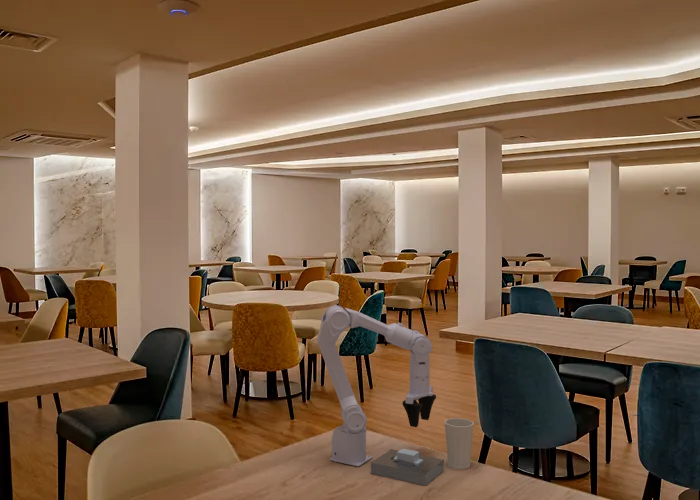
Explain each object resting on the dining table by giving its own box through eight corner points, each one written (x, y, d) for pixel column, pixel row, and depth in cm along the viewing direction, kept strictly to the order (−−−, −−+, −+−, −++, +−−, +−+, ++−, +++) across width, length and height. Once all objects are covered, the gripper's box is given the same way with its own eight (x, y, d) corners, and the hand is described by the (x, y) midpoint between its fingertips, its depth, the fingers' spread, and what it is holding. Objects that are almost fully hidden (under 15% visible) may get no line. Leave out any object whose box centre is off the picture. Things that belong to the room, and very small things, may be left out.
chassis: (370, 473, 168) (370, 462, 168) (391, 459, 179) (391, 449, 179) (425, 485, 160) (425, 474, 160) (443, 470, 170) (443, 459, 170)
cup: (473, 471, 170) (473, 427, 169) (443, 469, 171) (443, 425, 171) (473, 460, 178) (473, 418, 177) (445, 458, 179) (445, 417, 179)
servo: (392, 471, 170) (392, 451, 170) (398, 467, 173) (398, 447, 173) (417, 477, 166) (417, 456, 166) (423, 472, 169) (423, 452, 169)
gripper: (421, 382, 172) (421, 432, 172) (442, 372, 184) (442, 418, 185) (398, 379, 175) (398, 427, 176) (420, 370, 188) (420, 414, 188)
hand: (419, 422), depth 180 cm, fingers open, 7 cm apart
